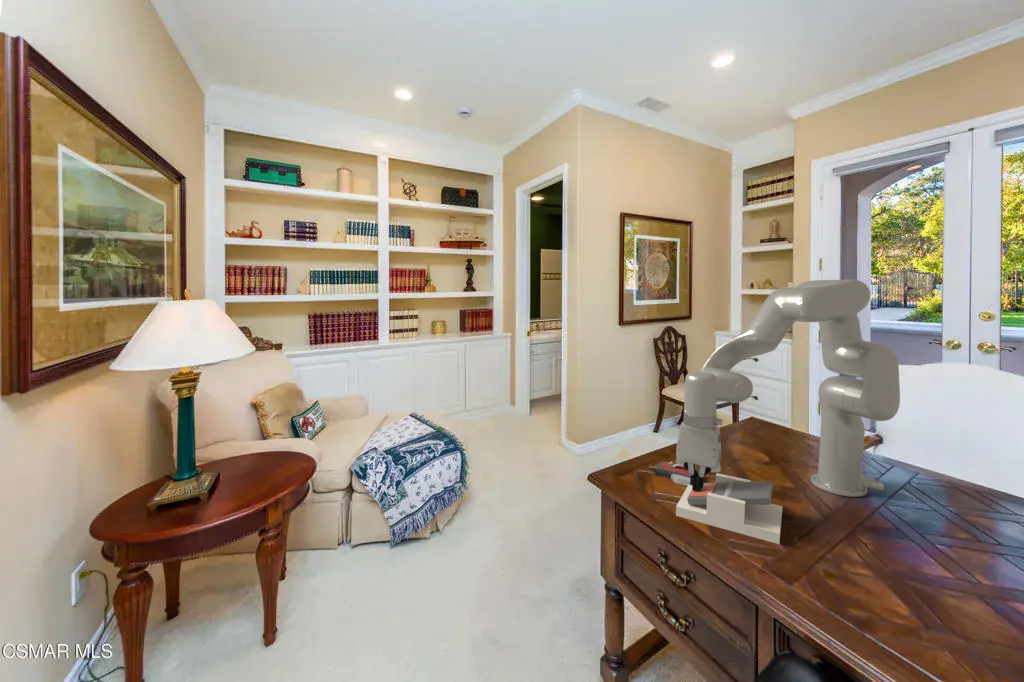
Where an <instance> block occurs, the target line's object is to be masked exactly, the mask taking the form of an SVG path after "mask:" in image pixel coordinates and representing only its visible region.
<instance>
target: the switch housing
mask: <svg viewBox="0 0 1024 682" xmlns="http://www.w3.org/2000/svg"><path fill="white" fill-rule="evenodd" d="M730 481H732V482H752V480H750V479H746V478H741V477H736V476H733V475H727V474H722V473H719V472H716V474H715V483H725V482H730ZM691 491H692V485H688V486H686V489H685V490H684V492H683V494H682V495H681V497H680V499H679V500H678V502H677V504H676V506H675V516H676V517H680V518H683V519H687V520H690V521H694V522H696V523H697V522H698V523H701V524H703V525H704V524H705V525H708V526H712V527H715V528H719V529H723V530H726V531H730V532H734V533H738V534H741V535H744V536H748V537H752V538H755V539H758V540H762V541H766V542H770V543H773V544H777V545H780V541H781V529H782V518H783V506H782V505H779V504H775V503H770V505H745V501H743V500H739V499H734V498H730V497H726V496H722V495H717V494H713V493H709V492H708V494H707V505H689V504H688V500H687V498H688V496H689V494H690V492H691Z"/></svg>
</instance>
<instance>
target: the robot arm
mask: <svg viewBox="0 0 1024 682" xmlns="http://www.w3.org/2000/svg"><path fill="white" fill-rule="evenodd" d="M870 299H871V290H870V288H869V287H868V285H867V284H866V283H865V282H863V281H861V280H858V279H854V278H853V279H851V278H850V279H819V280H816V279H815V280H809V281H808V280H807V281H804V282H802V283H800V284H798V285H797V286H796V287H782V288H778V289H775V290H773V291H772V292H771V293H769V295H768V296H767V298H766V299H765V300H764V302H763V303H762V305H761V306H760V307H759V309H758V310H757V311H756V313H755V314H754V316H753V317H752V318H751V320H750V322H749V323H748V324H747V326H746V327H745V329H744V330H743V331H742V332H740V333H739V334H738V335H736V336H734V337H732V338H731V339H729V340H727V341H726V342H725V343H723V344H722V345H720V346H719V347H718V348H716V349H715V350H714V351H713V352H712V353H711V355H710V356H709V357H708V359H706V362H705V363H704V364H703V366H702V367H701V369H700V370H699V371H693V372H692V371H691V372H689V373H687V374H686V376H685V379H684V402H683V406H684V407H683V421H681V423H680V425H679V426H680V427H679V430H678V437H677V442H676V454H675V455H676V458H675V464H680V465H682V466H684V467H685V468H686V469H687V470H688V472H689V474H690V485H692V490H694V491H695V490H696V491H698V492H699V490H700V489H701V488H703V486H704V483H705V476H707V475H708V474H710V473H720V472H721V470H722V467H721V461H722V460H721V459H722V443H721V442H722V440H721V431H720V427H719V425H720V426H723V419H721V418H718V415H717V406H718V402H724V403H733V404H735V403H742V402H745V401H746V400H748V399H749V398H750V397H751V396H752V394H753V391H754V385H753V383H752V381H751V379H750V378H749V377H747V376H746V375H744V374H742V373H739V372H735V371H731V370H732V369H733V368H734V367H735V366H736V365H738V364H739V363H740V362H742V361H745V360H747V359H750V358H753V357H757V356H761V355H765V354H767V353H771V352H773V351H775V350H776V349H777V348H778V346H779V345H780V343H781V342H782V341H783V339H784V338H785V336H786V335H787V333H788V332H789V331H790V328H792V326H793V325H794V324H795V322H799V323H800V322H802V323H818V326H819V331H820V341H821V354H822V362H823V366H824V367H825V369H826V370H827V371H830V372H833V373H836V374H839V375H836V376H830V377H826V378H825V379H824V380H823V381H822V382H821V383H820V385H819V387H818V400H819V405H820V406H819V407H820V414H821V415H820V416H821V417H820V419H821V420H820V436H819V450H818V465H817V468H818V469H817V473H814V474H812V475H811V477H810V481H811V483H812V484H813V486H815V487H816V488H818V489H820V490H822V491H824V492H828V493H831V494H834V495H837V496H838V495H839V496H843V497H853V498H856V497H857V498H858V497H864V496H866V495H867V494H868V489H869V488H870V489H874V490H879V491H884V487H885V486H884V485H885V484H884V482H879V481H877V479H875V478H874V479H873V478H868V477H866V476H864V475H863V472H862V469H863V468H862V467H863V457H864V456H863V455H864V444H865V443H864V442H865V433H866V432H865V425H864V423H863V419H862V418H865V419H868V420H872V421H879V422H885V421H889V420H892V419H893V418H894V417H895V416H896V415H897V413H898V411H899V409H900V404H901V389H900V387H901V386H900V370H899V369H900V368H899V358H898V356H897V354H896V352H895V351H894V349H893V348H892V347H890V346H889V345H887V344H885V343H880V342H877V341H876V342H875V341H867V340H866V341H865V340H863V337H862V331H861V323H860V320H859V317H858V315H857V313H860V312H862V311H863V310H864V309H865V308H866V307H867V306H868V305H869V302H870ZM840 374H841V376H840ZM842 375H846V376H842ZM849 376H850V377H849ZM854 377H856V378H854ZM859 378H860V379H859ZM717 425H718V426H717ZM697 466H699V470H700V471H699V473H697V471H696V469H697Z"/></svg>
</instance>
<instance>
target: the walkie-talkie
mask: <svg viewBox="0 0 1024 682" xmlns="http://www.w3.org/2000/svg"><path fill="white" fill-rule="evenodd" d="M696 471H697V473H699V471H700V469H698V468H696ZM652 472H653V473H654V474H656V475H657V474H658V475H661V476H660V477H662V476H665V477H667V479H670V480H672V481H673V482H675V483H676V484H677V485H681V486H685V487H687V486H688V485H690V474H689V472H688V470H687V469H686V468H685V467H684V466H682V465H680V464H678V463H674V462H673V461H666V460H665V461H664V460H662V461H661V462H660V463H658V464H657V467H656V468H653V469H652ZM658 475H657V476H658ZM665 477H664V478H665Z"/></svg>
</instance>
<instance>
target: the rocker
mask: <svg viewBox="0 0 1024 682" xmlns="http://www.w3.org/2000/svg"><path fill="white" fill-rule="evenodd" d="M773 488H774V487H773V484H772V481H771V480H767V481H766V480H765V481H751V482H732V481H730V482H725V483H716V482H704V486H703V488H701V489H700V490H699V492H698V491H696V490H695V491H694V490H692V491H691V492H690V494H689V496H688V498H687V500H688V504H689V505H707V494H708V492H709V493H713V494H717V495H722V496H726V497H730V498H734V499H739V500H743V501H745V505H770V503H771V501H772V497H773V496H772V494H773ZM771 504H772V503H771Z"/></svg>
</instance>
